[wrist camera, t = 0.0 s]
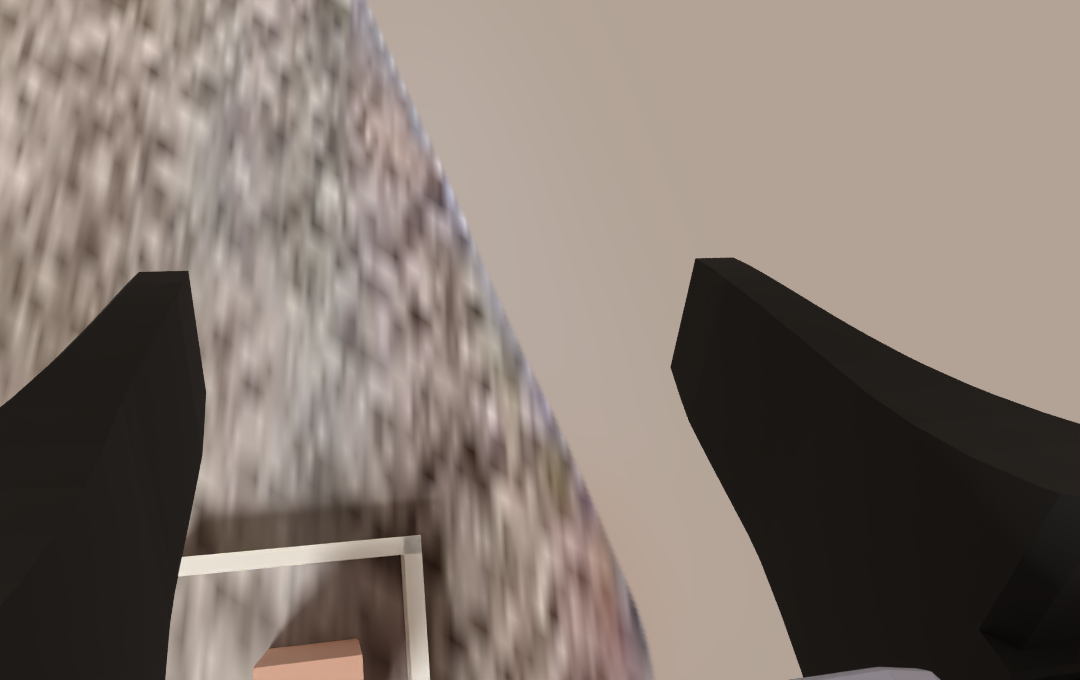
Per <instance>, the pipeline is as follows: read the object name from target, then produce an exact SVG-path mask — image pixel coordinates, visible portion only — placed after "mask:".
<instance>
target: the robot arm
mask: <svg viewBox="0 0 1080 680" xmlns="http://www.w3.org/2000/svg"><path fill="white" fill-rule="evenodd" d="M671 370H672V373H673V376H674V379H675V382H676V385H677V389H678V392H679V395H680V398H681V401H682V403H683V406H684V409H685V412H686V414H687V417H688V420H689V422H690V424H691V426H692V428H693V430H694V432H695V434H696V436H697V438H698V440H699V442H700V444H701V446H702V448H703V450H704V452H705V454H706V456H707V457H708V459H709V461H710V463H711V465H712V467H713V469H714V471H715V473H716V475H717V477H718V478H719V480H720V482H721V484H722V486H723V488H724V490H725V492H726V494H727V495H728V497H729V499H730V501H731V503H732V505H733V507H734V509H735V511H736V512H737V514H738V516H739V518H740V520H741V522H742V524H743V526H744V528H745V529H746V531H747V533H748V535H749V537H750V539H751V542H752V544H753V546H754V548H755V550H756V552H757V554H758V556H759V559H760V561H761V563H762V566H763V569H764V571H765V574H766V576H767V579H768V581H769V584H770V587H771V589H772V592H773V594H774V597H775V600H776V602H777V605H778V607H779V610H780V612H781V615H782V618H783V621H784V624H785V626H786V629H787V632H788V635H789V638H790V641H791V643H792V646H793V649H794V652H795V655H796V657H797V660H798V663H799V666H800V669H801V672H802V675H803V678H798V679H792V680H1080V424H1078V423H1075V422H1072V421H1069V420H1065V419H1062V418H1059V417H1056V416H1052V415H1050V414H1046V413H1043V412H1041V411H1038V410H1035V409H1032V408H1029V407H1027V406H1024V405H1021V404H1018V403H1015V402H1013V401H1010V400H1007V399H1005V398H1002V397H999V396H996V395H993V394H991V393H989V392H986V391H984V390H981V389H979V388H976V387H973V386H971V385H969V384H966V383H964V382H962V381H960V380H957V379H955V378H953V377H951V376H948V375H946V374H944V373H942V372H939V371H937V370H935V369H933V368H931V367H928V366H926V365H924V364H922V363H920V362H918V361H916V360H913V359H912V358H909V357H908V356H906V355H904V354H902V353H900V352H898V351H896V350H894V349H892V348H890V347H889V346H887V345H885V344H883V343H881V342H879V341H877V340H876V339H874V338H872V337H870V336H868V335H866V334H865V333H863V332H861V331H859V330H857V329H856V328H854V327H852V326H850V325H848V324H847V323H845V322H844V321H842V320H840V319H838V318H837V317H835V316H833V315H832V314H830V313H828V312H827V311H825V310H823V309H822V308H820V307H818V306H817V305H815V304H813V303H812V302H810V301H809V300H807V299H805V298H803V297H802V296H800V295H799V294H797V293H795V292H794V291H792V290H790V289H789V288H787V287H786V286H784V285H782V284H780V283H779V282H777V281H775V280H774V279H772V278H770V277H769V276H767V275H765V274H764V273H762V272H760V271H758V270H757V269H755V268H753V267H751V266H749V265H747V264H746V263H743V262H741V261H739V260H737V259H735V258H699V259H698V258H696V259H695V263H694V267H693V272H692V276H691V280H690V285H689V289H688V294H687V298H686V302H685V307H684V311H683V315H682V320H681V324H680V328H679V333H678V337H677V342H676V346H675V350H674V354H673V359H672V363H671ZM205 402H206V389H205V382H204V375H203V368H202V362H201V355H200V348H199V341H198V334H197V327H196V321H195V314H194V307H193V300H192V293H191V287H190V280H189V273H188V271H164V272H139V273H138V274H137V275H135V276H134V277H133V278H132V279H131V280H130V281H129V282H128V283H127V285H126V286H125V287H124V288H123V289H122V290H121V291H120V292H119V293H118V294H117V295H116V296H115V297H114V298H113V300H112V301H111V302H110V303H109V304H108V305H107V306H106V307H105V308H104V309H103V310H102V312H101V313H100V314H99V315H98V316H97V317H96V318H95V319H94V320H93V321H92V322H91V323H90V324H89V325H88V326H87V328H86V329H85V330H84V331H83V332H82V333H81V334H80V335H79V336H78V337H77V338H76V339H75V340H74V341H73V342H72V343H71V344H70V345H69V346H68V347H67V348H66V349H65V350H64V351H63V352H62V353H61V354H60V355H59V356H58V357H57V358H56V359H55V360H54V361H53V362H52V363H50V364H49V365H48V366H47V367H46V368H45V369H44V370H43V371H42V372H41V373H39V374H38V375H37V376H36V377H35V378H34V379H33V380H32V381H30V382H29V383H28V384H27V385H26V386H25V387H24V388H23V389H22V390H20V391H19V392H18V393H17V394H16V395H15V396H14V397H12V398H11V399H10V400H9V401H7V402H6V403H5V404H4V405H3V406H1V407H0V680H165V675H166V663H167V652H168V640H169V629H170V620H171V614H172V607H173V600H174V594H175V589H176V584H177V579H178V574H179V569H180V564H181V559H182V554H183V549H184V544H185V539H186V535H187V530H188V525H189V520H190V515H191V510H192V505H193V500H194V495H195V490H196V485H197V480H198V475H199V470H200V464H201V459H202V452H203V437H204V421H205Z"/></svg>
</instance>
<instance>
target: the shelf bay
mask: <svg viewBox="0 0 1080 680" xmlns="http://www.w3.org/2000/svg"><path fill="white" fill-rule="evenodd" d="M394 555H401V568H402V585H403V602H404V618H405V635H406V652H407V669H408V680H430V671H429V655H428V640H427V624H426V609H425V594H424V578H423V563H422V547H421V535H413V536H403V537H392V538H381V539H371V540H360V541H349V542H338V543H328V544H317V545H306V546H296V547H285V548H274V549H263V550H253V551H242V552H231V553H220V554H210V555H199V556H188V557H182V559H181V564H180V569H179V574H178V577H179V576H189V575H200V574H210V573H220V572H230V571H240V570H251V569H261V568H271V567H281V566H292V565H302V564H312V563H322V562H332V561H343V560H353V559H363V558H373V557H383V556H394Z"/></svg>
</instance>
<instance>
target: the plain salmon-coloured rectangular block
mask: <svg viewBox="0 0 1080 680" xmlns="http://www.w3.org/2000/svg"><path fill="white" fill-rule="evenodd" d="M253 680H364V677H363V657H362V651H361V648H360V644H359V640H358V638H356V639H348V640H339V641H331V642H322V643H314V644H305V645H297V646H288V647H280V648H271V649H268V650H267V652H266V653H265V654H264V655H263V657H262V658H261V659H260V660H259V661H258V663H257V664H256V665H255V666H254V668H253Z"/></svg>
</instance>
